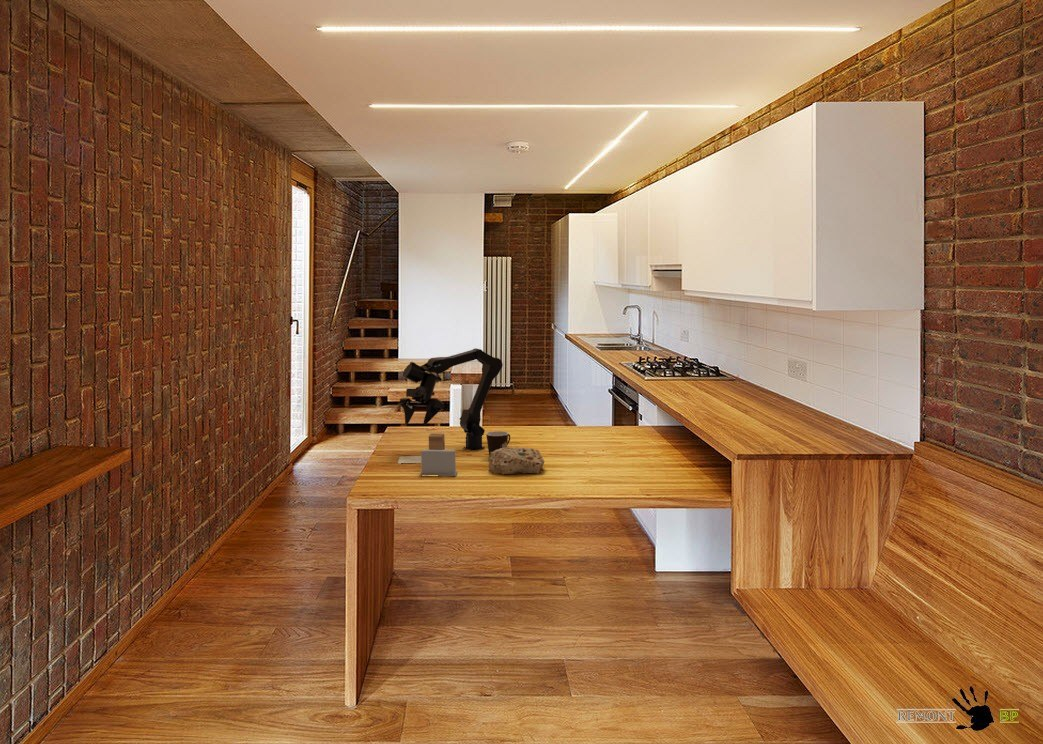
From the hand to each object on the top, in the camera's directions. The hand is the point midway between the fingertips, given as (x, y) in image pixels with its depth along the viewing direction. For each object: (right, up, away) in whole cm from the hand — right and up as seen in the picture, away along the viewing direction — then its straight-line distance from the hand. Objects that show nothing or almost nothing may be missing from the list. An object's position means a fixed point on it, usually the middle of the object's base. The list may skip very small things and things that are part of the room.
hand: (415, 424), depth 289 cm
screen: (+11, -17, -18) cm, 27 cm away
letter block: (+10, -16, -10) cm, 21 cm away
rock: (+39, -17, -13) cm, 44 cm away
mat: (-2, -14, +3) cm, 14 cm away
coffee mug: (+33, -14, +5) cm, 36 cm away
